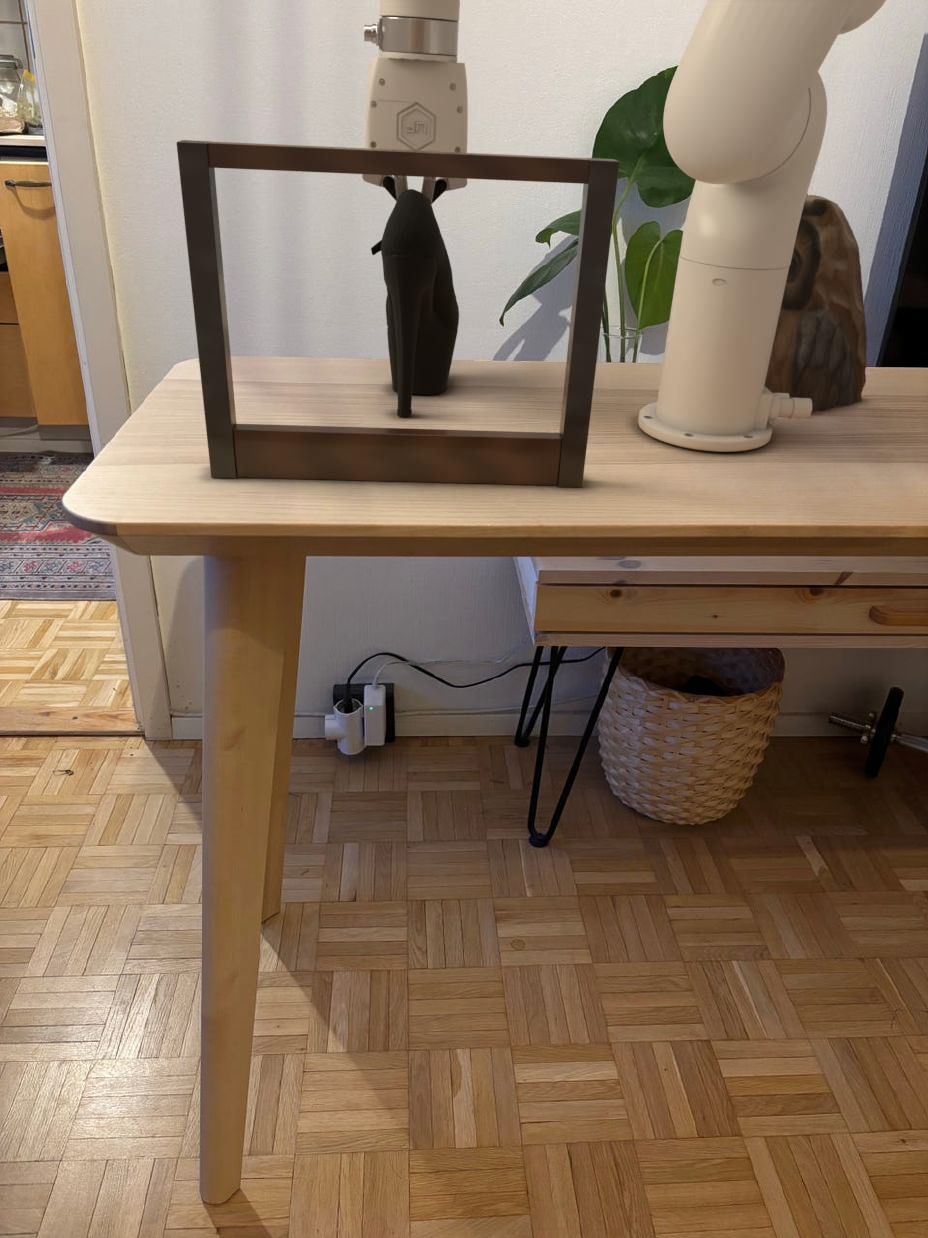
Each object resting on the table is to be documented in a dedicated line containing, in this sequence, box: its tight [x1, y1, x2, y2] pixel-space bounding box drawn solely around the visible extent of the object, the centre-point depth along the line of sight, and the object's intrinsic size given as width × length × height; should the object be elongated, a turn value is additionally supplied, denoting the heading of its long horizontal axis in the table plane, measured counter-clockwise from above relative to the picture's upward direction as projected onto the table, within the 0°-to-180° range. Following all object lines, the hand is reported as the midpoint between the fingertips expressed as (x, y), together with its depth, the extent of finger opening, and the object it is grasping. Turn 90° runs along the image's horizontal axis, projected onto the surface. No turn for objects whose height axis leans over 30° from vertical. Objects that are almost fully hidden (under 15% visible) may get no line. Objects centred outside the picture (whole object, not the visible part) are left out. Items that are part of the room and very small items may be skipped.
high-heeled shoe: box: [370, 188, 460, 417], centre depth 90 cm, size 8×19×20 cm, turn 174°
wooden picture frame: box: [176, 139, 620, 488], centre depth 69 cm, size 30×2×24 cm, turn 92°
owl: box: [764, 193, 868, 413], centre depth 96 cm, size 13×13×20 cm
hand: (413, 246), depth 98 cm, fingers closed
